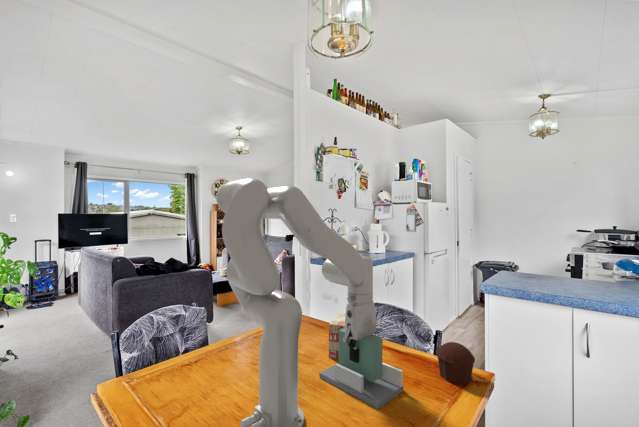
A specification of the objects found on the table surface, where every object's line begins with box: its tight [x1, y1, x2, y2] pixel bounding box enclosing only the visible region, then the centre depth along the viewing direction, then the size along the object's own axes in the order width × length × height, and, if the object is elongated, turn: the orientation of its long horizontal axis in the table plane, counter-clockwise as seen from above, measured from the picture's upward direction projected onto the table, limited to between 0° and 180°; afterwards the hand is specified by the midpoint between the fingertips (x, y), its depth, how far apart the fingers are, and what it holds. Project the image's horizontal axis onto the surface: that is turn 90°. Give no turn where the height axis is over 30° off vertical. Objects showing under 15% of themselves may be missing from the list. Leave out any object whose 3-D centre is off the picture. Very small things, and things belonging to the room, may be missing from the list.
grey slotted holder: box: [318, 361, 405, 410], centre depth 94 cm, size 12×22×6 cm, turn 44°
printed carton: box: [328, 313, 346, 360], centre depth 121 cm, size 21×6×12 cm, turn 163°
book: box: [338, 328, 383, 382], centre depth 94 cm, size 4×13×11 cm, turn 44°
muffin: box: [435, 341, 476, 385], centre depth 99 cm, size 12×11×10 cm
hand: (359, 357), depth 94 cm, fingers closed on book, 4 cm apart
